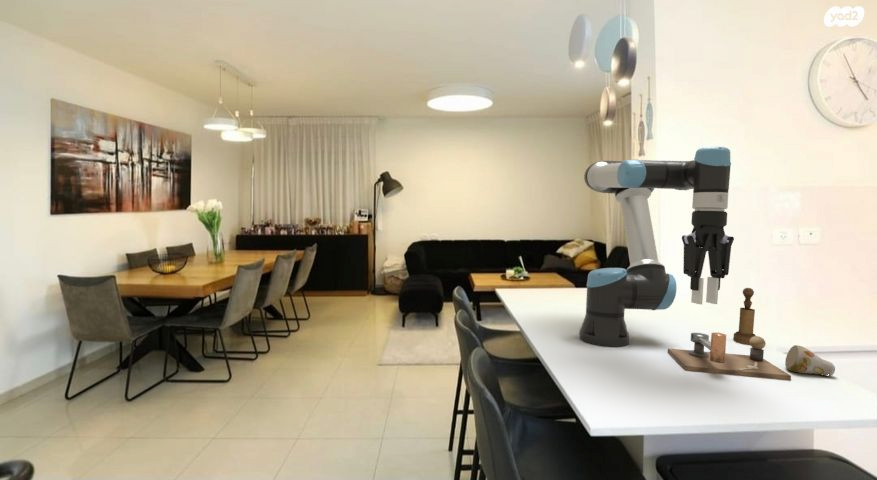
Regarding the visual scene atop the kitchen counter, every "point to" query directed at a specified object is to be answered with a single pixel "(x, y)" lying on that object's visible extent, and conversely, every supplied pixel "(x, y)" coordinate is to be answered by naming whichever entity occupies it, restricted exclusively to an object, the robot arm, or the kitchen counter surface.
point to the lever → (712, 345)
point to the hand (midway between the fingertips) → (704, 303)
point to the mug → (807, 362)
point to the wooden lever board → (730, 362)
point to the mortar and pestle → (746, 319)
